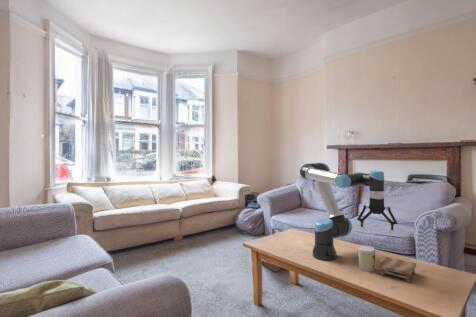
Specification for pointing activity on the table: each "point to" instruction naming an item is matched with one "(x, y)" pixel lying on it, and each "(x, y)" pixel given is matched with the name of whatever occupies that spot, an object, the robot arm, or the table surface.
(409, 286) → the table surface
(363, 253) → the coffee cup
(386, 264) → the footstool
